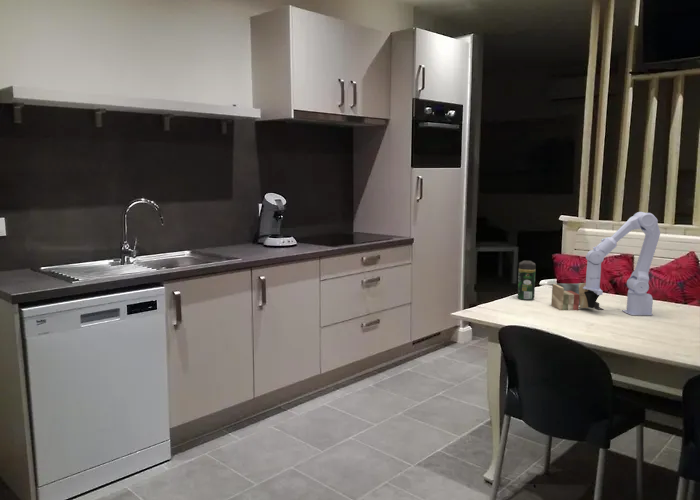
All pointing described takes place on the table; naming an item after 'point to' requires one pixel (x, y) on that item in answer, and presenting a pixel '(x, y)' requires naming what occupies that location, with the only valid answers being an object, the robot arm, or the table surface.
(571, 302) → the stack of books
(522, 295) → the coffee jar
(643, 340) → the table surface
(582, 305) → the box
